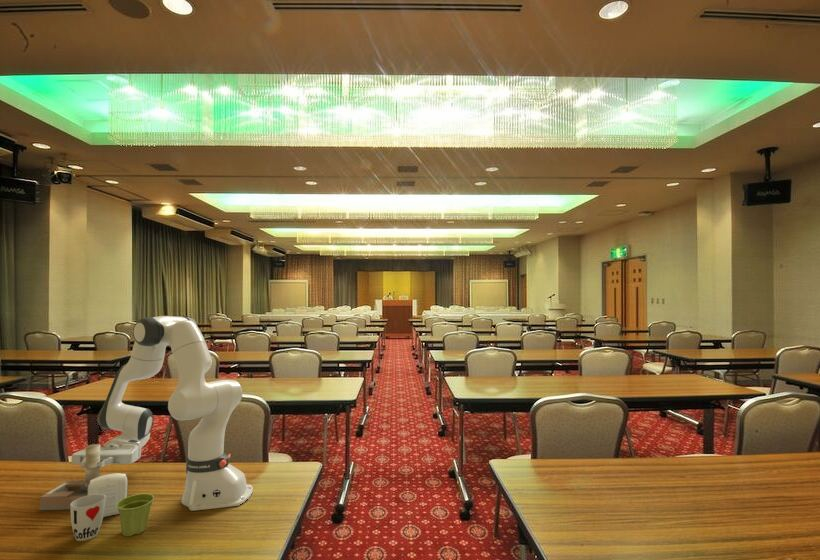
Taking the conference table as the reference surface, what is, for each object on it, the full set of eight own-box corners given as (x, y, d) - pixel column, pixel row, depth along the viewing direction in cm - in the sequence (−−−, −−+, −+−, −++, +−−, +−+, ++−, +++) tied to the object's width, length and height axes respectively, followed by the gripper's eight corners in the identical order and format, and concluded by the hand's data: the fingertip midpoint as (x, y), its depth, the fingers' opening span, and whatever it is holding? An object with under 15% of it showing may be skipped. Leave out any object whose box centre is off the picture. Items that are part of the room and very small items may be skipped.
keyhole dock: (115, 491, 148) (115, 479, 149) (92, 508, 136) (92, 495, 137) (67, 492, 147) (68, 480, 147) (39, 510, 135) (40, 496, 136)
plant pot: (160, 523, 128) (161, 494, 128) (136, 541, 119) (137, 510, 119) (133, 521, 129) (134, 492, 130) (106, 538, 120) (107, 507, 120)
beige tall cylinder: (106, 483, 146) (108, 442, 146) (95, 491, 140) (96, 449, 140) (88, 483, 145) (89, 443, 146) (76, 492, 139) (77, 449, 140)
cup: (64, 546, 116) (66, 509, 116) (74, 531, 123) (75, 496, 124) (100, 540, 119) (101, 504, 119) (107, 525, 126) (108, 491, 127)
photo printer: (126, 507, 138) (127, 468, 138) (126, 513, 134) (127, 473, 134) (86, 516, 132) (88, 476, 132) (85, 522, 128) (87, 481, 129)
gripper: (87, 441, 155) (59, 455, 141) (145, 441, 156) (122, 455, 143) (86, 458, 155) (58, 474, 141) (144, 458, 156) (121, 474, 142)
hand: (91, 465), depth 142 cm, fingers closed on beige tall cylinder, 4 cm apart
